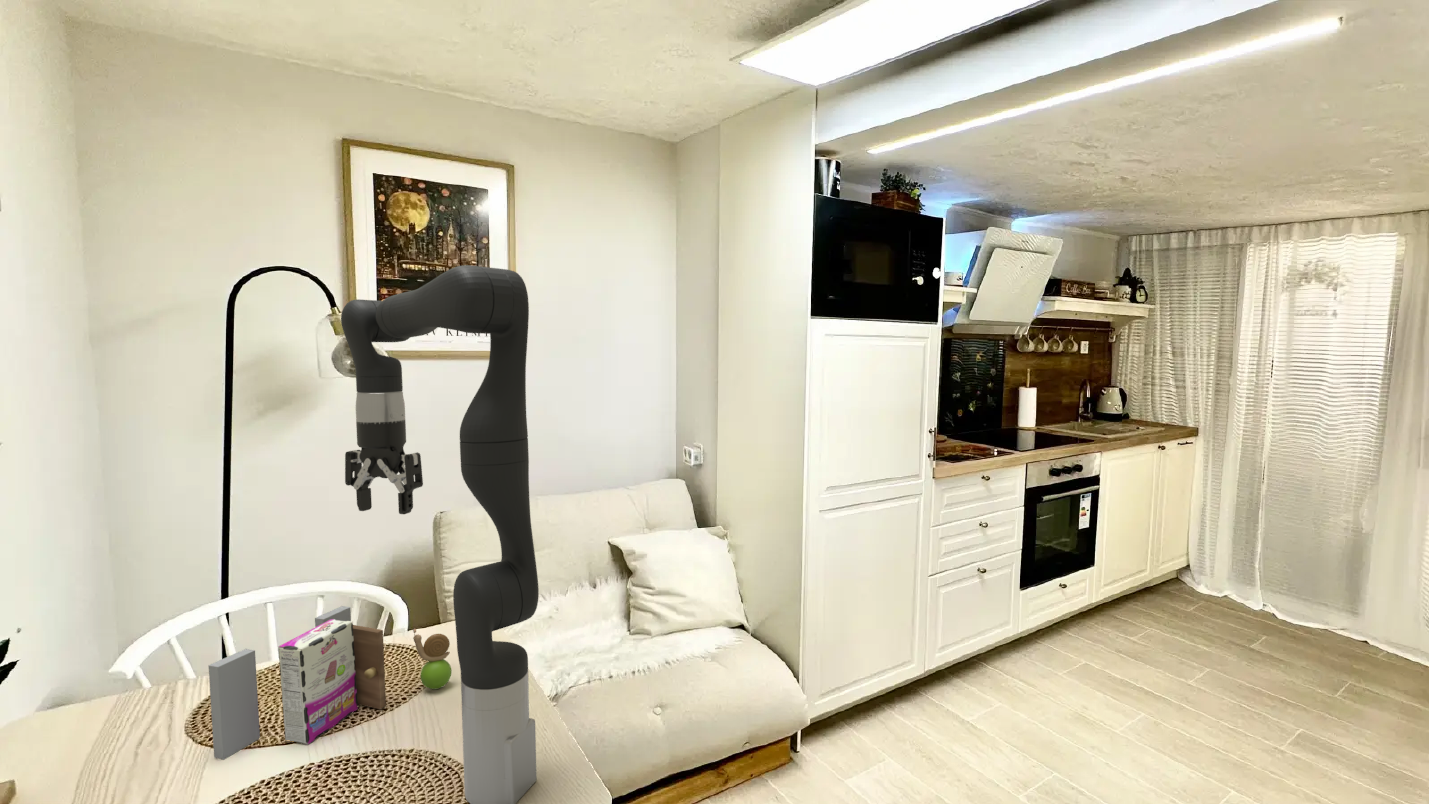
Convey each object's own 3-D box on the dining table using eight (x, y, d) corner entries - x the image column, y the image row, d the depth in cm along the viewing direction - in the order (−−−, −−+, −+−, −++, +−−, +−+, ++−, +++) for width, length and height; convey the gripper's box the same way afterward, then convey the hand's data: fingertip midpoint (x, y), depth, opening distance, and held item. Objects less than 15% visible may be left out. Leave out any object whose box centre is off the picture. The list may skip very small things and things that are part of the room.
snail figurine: (415, 685, 126) (412, 624, 126) (451, 678, 129) (449, 618, 128) (415, 698, 122) (413, 635, 121) (452, 690, 124) (450, 629, 123)
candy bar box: (335, 706, 119) (331, 617, 118) (359, 709, 118) (355, 620, 117) (281, 742, 108) (276, 645, 107) (307, 746, 107) (302, 648, 106)
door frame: (353, 683, 127) (350, 607, 126) (223, 759, 103) (217, 667, 102) (345, 681, 128) (342, 606, 127) (214, 757, 104) (208, 665, 103)
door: (334, 694, 122) (330, 620, 121) (385, 705, 118) (382, 630, 117) (322, 700, 120) (319, 626, 119) (375, 712, 116) (371, 635, 115)
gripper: (431, 417, 114) (434, 509, 116) (365, 415, 119) (368, 504, 120) (398, 421, 107) (402, 520, 109) (329, 419, 111) (334, 514, 113)
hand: (384, 511), depth 114 cm, fingers open, 8 cm apart
